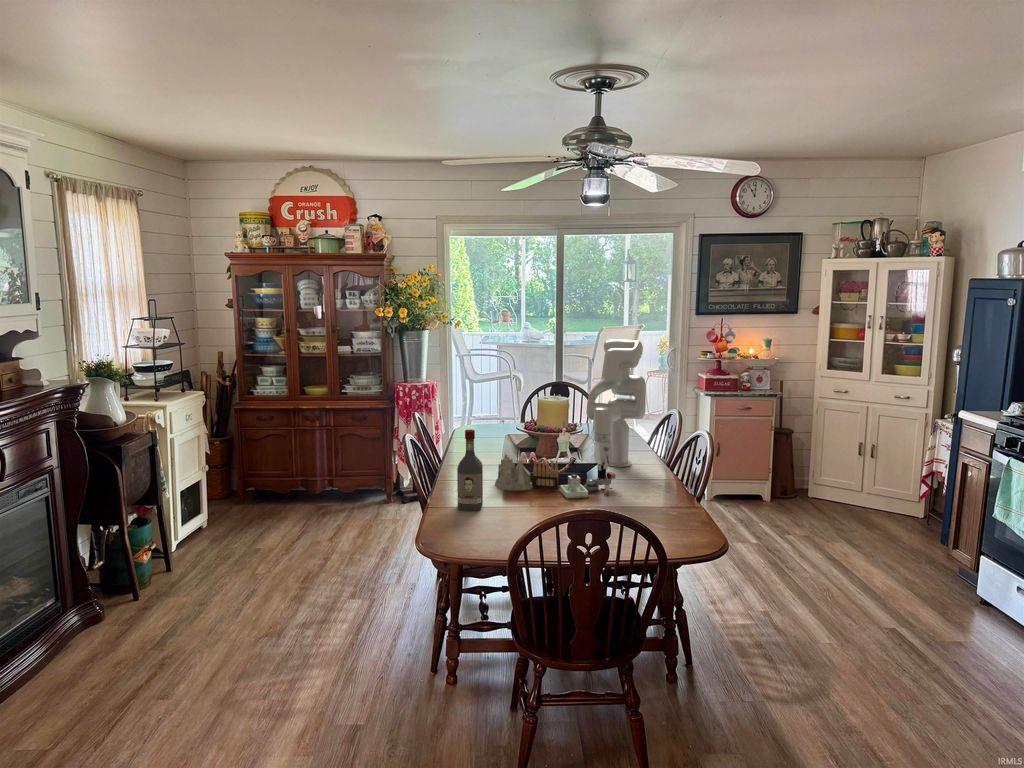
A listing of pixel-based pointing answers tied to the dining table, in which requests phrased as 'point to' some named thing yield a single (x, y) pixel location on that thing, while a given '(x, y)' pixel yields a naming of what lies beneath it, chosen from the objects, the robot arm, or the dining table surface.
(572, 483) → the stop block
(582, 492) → the tray
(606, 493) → the crank pedestal
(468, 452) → the liquor
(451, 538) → the dining table surface
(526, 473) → the grey castle model
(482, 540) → the dining table surface
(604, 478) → the crank
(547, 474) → the ammunition clip
